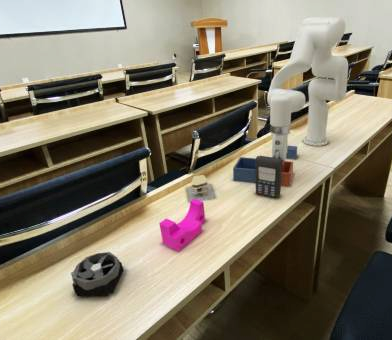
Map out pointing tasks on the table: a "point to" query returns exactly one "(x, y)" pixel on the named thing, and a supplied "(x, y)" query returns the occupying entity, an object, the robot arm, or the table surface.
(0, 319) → the table surface
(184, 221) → the toy block
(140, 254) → the table surface
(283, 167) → the terracotta block
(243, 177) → the slate bin
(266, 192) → the card reader
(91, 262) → the cpu cooler
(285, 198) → the table surface
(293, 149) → the slate block
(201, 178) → the stacked layers on plate
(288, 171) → the terracotta bin
